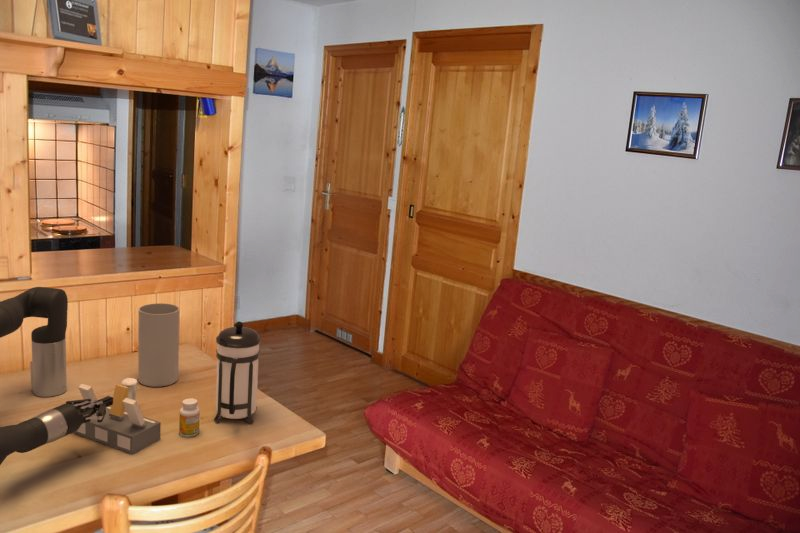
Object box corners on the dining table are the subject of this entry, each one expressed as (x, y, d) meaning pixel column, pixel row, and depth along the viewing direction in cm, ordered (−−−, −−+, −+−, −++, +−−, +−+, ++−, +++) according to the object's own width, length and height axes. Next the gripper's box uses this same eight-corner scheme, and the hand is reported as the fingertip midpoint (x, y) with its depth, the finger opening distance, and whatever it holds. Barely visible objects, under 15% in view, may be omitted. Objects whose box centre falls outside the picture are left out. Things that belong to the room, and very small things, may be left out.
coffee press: (197, 414, 197) (199, 319, 191) (242, 401, 209) (246, 311, 203) (229, 436, 186) (232, 336, 180) (275, 421, 198) (280, 326, 191)
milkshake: (134, 412, 195) (134, 380, 193) (118, 409, 196) (118, 377, 194) (143, 406, 200) (143, 375, 197) (127, 403, 201) (127, 372, 198)
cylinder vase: (163, 370, 227) (164, 301, 222) (185, 380, 220) (187, 309, 215) (130, 379, 217) (130, 307, 212) (153, 391, 210) (153, 316, 205)
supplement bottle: (178, 429, 187) (178, 398, 185) (198, 427, 189) (198, 396, 187) (180, 438, 182) (180, 406, 180) (200, 436, 184) (200, 404, 182)
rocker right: (130, 424, 177) (121, 400, 172) (134, 421, 178) (125, 397, 173) (143, 429, 175) (133, 404, 170) (147, 425, 176) (137, 401, 172)
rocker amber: (107, 416, 180) (114, 384, 180) (111, 415, 181) (118, 384, 181) (119, 420, 178) (126, 388, 178) (123, 419, 179) (130, 387, 180)
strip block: (71, 432, 180) (71, 415, 179) (101, 419, 189) (101, 402, 188) (132, 454, 172) (132, 436, 171) (160, 438, 181) (160, 421, 180)
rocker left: (87, 410, 183) (76, 386, 178) (91, 406, 184) (80, 383, 179) (99, 414, 181) (88, 390, 176) (102, 410, 182) (92, 387, 178)
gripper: (36, 431, 164) (93, 406, 179) (74, 445, 159) (129, 418, 174) (35, 403, 162) (93, 381, 178) (73, 416, 157) (129, 392, 173)
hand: (111, 399), depth 176 cm, fingers closed
